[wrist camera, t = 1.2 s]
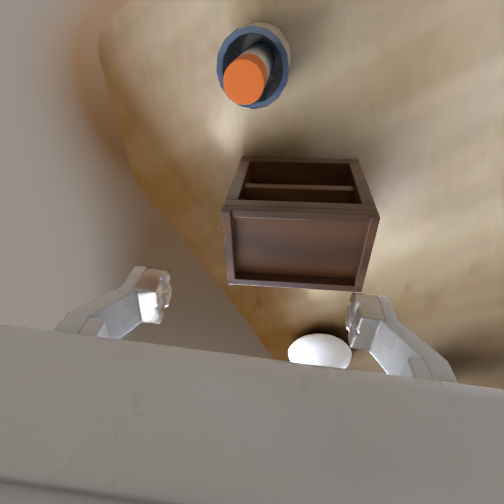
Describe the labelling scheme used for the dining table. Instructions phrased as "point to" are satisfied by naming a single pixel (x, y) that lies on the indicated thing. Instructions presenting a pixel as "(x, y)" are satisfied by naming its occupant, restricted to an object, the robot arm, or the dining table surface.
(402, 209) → the dining table surface
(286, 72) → the pen cup
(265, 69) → the marker
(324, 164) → the small wooden shelf
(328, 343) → the flower in vase
